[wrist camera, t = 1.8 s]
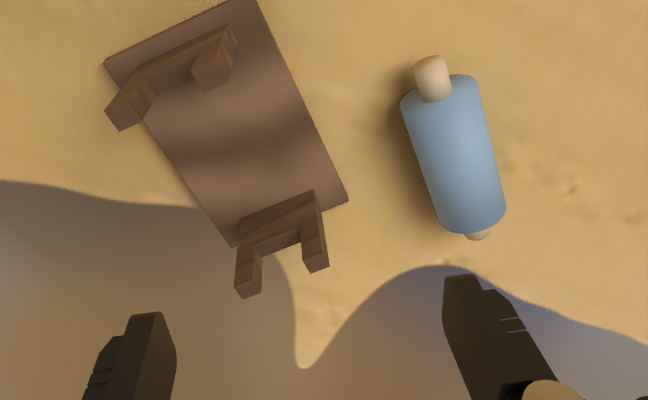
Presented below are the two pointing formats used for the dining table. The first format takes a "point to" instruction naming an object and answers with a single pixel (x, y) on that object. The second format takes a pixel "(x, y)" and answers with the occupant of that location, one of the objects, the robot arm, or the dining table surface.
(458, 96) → the towel roll
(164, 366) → the robot arm
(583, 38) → the dining table surface
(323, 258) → the roll holder
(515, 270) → the dining table surface
